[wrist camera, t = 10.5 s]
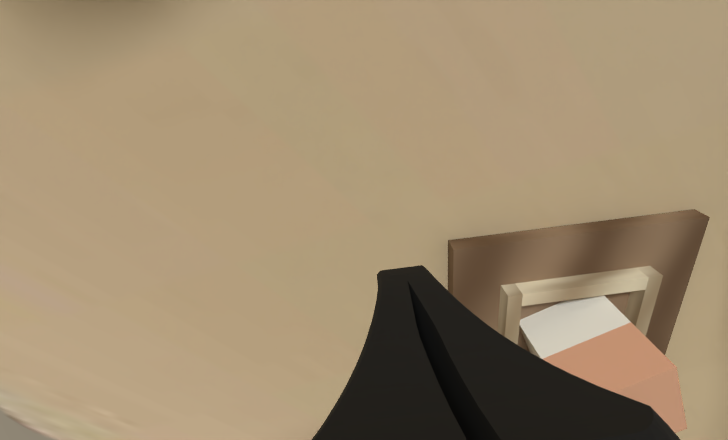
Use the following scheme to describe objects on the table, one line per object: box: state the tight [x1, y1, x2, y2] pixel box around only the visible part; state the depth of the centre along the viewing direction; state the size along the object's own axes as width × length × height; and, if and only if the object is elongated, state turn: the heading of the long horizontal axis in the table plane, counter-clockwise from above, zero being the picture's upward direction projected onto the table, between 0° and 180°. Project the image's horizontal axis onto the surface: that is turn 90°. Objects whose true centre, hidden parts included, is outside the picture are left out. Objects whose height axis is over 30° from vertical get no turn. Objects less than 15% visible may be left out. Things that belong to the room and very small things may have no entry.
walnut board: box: [448, 209, 710, 355], centre depth 25 cm, size 14×14×2 cm
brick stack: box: [519, 295, 687, 433], centre depth 22 cm, size 5×5×6 cm
